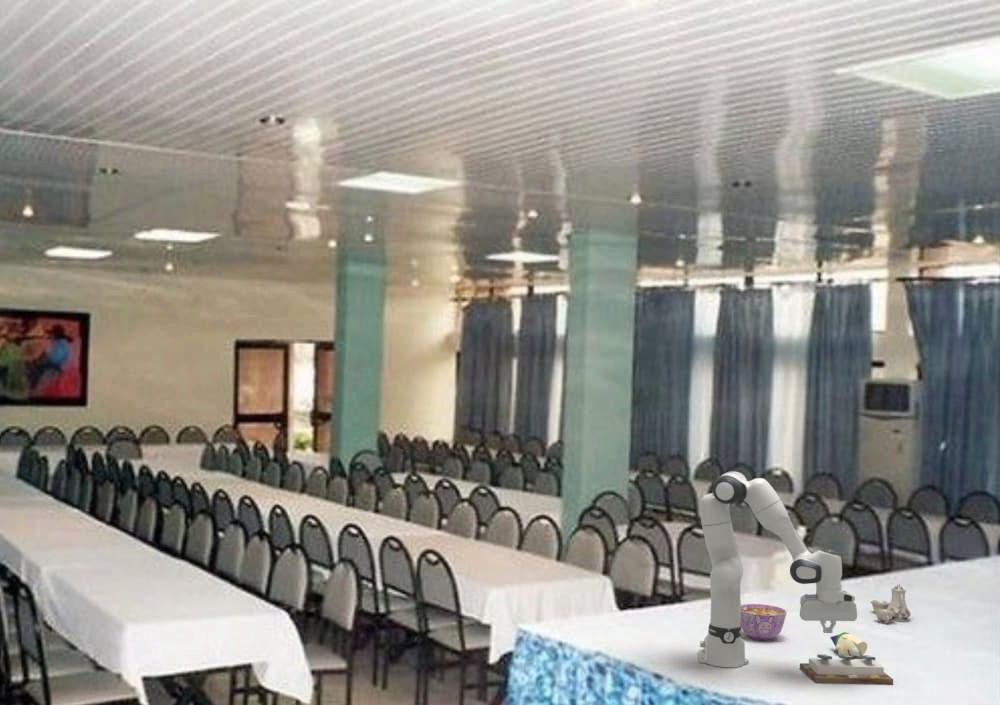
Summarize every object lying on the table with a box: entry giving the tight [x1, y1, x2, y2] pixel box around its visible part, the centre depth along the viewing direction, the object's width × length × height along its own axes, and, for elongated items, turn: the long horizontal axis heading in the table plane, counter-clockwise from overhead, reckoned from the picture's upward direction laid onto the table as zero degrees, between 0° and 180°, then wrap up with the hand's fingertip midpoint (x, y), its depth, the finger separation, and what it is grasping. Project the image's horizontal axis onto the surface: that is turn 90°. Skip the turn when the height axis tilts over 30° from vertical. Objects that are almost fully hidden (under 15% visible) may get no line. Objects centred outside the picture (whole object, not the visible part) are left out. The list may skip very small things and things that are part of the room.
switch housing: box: [808, 657, 884, 676], centre depth 407 cm, size 10×24×4 cm, turn 93°
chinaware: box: [870, 583, 911, 624], centre depth 499 cm, size 28×17×17 cm, turn 172°
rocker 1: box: [816, 653, 833, 659], centre depth 406 cm, size 7×3×1 cm, turn 3°
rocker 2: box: [838, 654, 855, 660], centre depth 407 cm, size 7×3×1 cm, turn 3°
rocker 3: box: [859, 654, 876, 661], centre depth 407 cm, size 7×3×1 cm, turn 3°
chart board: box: [799, 662, 894, 686], centre depth 407 cm, size 18×28×2 cm, turn 93°
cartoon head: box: [830, 631, 868, 657], centre depth 436 cm, size 9×10×20 cm
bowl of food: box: [740, 603, 787, 641], centre depth 459 cm, size 20×20×12 cm
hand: (827, 632), depth 404 cm, fingers closed
